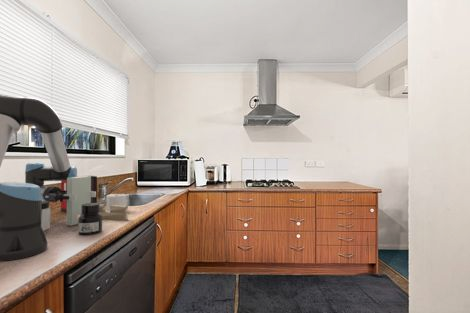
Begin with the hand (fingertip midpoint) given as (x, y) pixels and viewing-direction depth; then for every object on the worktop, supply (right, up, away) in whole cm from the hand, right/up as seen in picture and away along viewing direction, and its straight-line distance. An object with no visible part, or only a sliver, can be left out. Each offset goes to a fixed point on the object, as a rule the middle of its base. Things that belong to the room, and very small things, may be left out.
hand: (86, 196), depth 122 cm
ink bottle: (+10, -14, -14) cm, 22 cm away
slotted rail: (+5, -13, +10) cm, 18 cm away
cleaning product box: (-23, -13, +32) cm, 42 cm away
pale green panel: (-4, -13, +1) cm, 14 cm away
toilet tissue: (+2, -14, +25) cm, 29 cm away
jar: (-15, -13, -11) cm, 23 cm away
